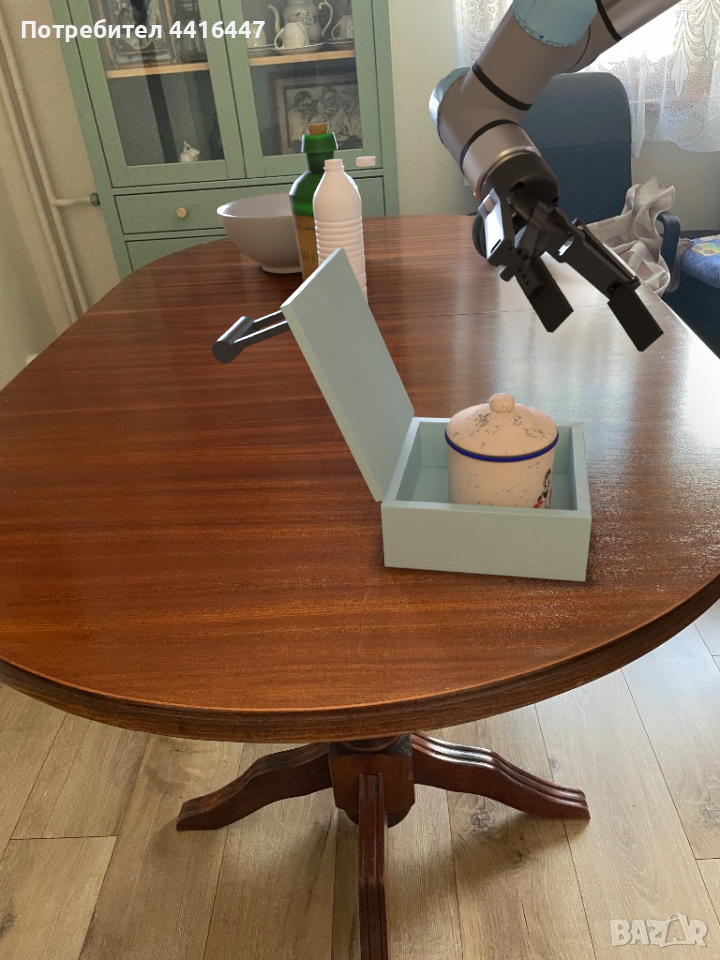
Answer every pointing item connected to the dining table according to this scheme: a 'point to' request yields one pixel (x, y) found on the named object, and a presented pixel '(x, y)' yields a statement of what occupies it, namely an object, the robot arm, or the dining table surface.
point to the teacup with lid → (501, 455)
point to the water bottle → (340, 217)
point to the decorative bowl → (263, 231)
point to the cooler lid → (341, 364)
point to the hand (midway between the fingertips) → (608, 332)
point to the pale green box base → (485, 515)
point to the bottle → (310, 193)
